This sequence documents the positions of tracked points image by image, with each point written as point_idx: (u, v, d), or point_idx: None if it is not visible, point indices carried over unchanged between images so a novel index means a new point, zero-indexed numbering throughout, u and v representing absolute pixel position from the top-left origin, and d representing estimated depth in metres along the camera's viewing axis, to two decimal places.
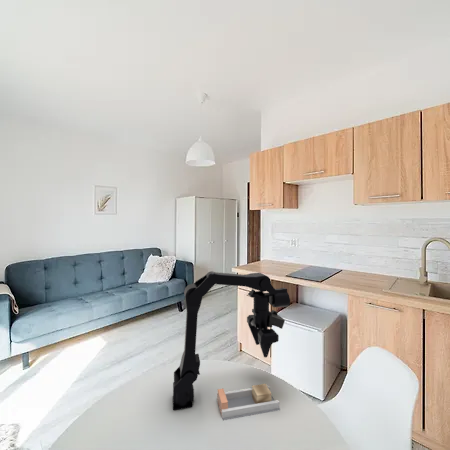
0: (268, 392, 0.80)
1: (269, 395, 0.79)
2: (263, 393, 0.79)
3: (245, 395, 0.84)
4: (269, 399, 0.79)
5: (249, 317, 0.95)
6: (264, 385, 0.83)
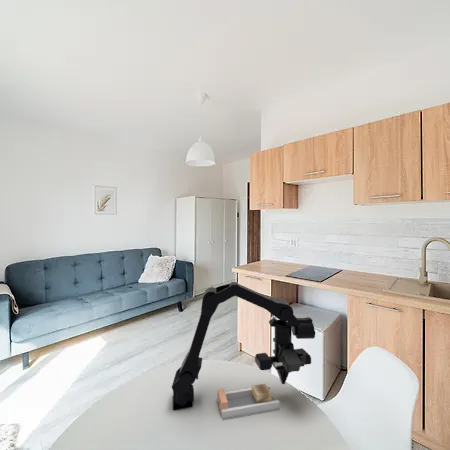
0: (268, 392, 0.80)
1: (269, 395, 0.79)
2: (263, 393, 0.79)
3: (245, 395, 0.84)
4: (269, 399, 0.79)
5: None
6: (264, 385, 0.83)
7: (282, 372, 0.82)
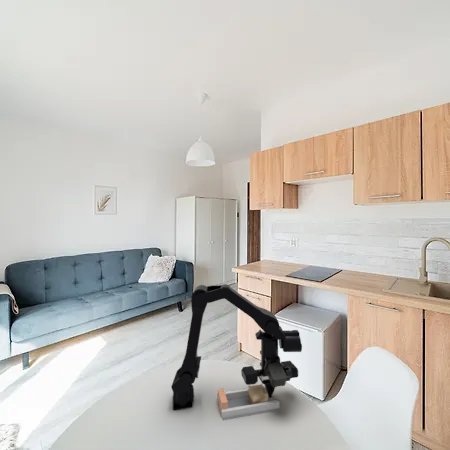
0: (264, 393, 0.79)
1: (265, 396, 0.79)
2: (259, 394, 0.79)
3: (245, 395, 0.84)
4: (265, 400, 0.79)
5: None
6: (260, 386, 0.83)
7: (269, 386, 0.81)
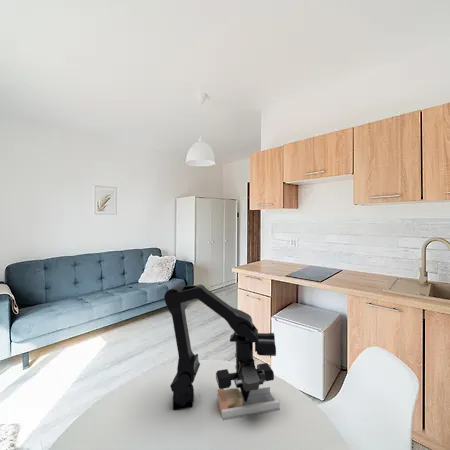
0: (239, 397, 0.78)
1: (240, 400, 0.77)
2: (234, 398, 0.77)
3: None
4: (240, 404, 0.77)
5: None
6: (236, 389, 0.81)
7: (244, 389, 0.79)
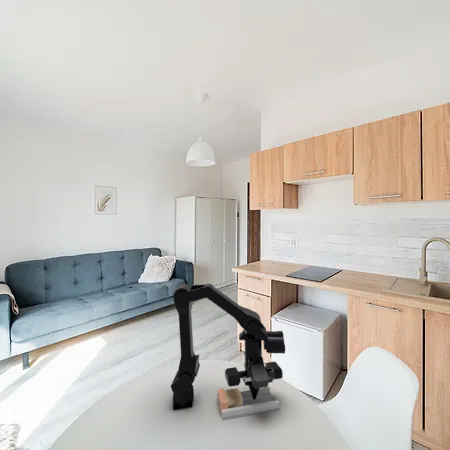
0: (239, 397, 0.77)
1: (240, 400, 0.77)
2: (234, 398, 0.77)
3: (245, 395, 0.84)
4: (240, 404, 0.77)
5: None
6: (236, 389, 0.81)
7: (252, 387, 0.79)
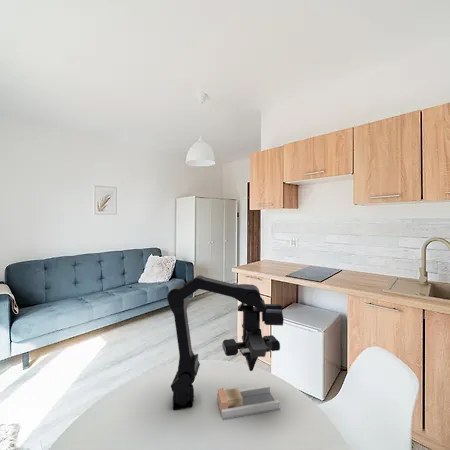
0: (239, 397, 0.77)
1: (240, 400, 0.77)
2: (234, 398, 0.77)
3: (245, 395, 0.84)
4: (240, 404, 0.77)
5: None
6: (236, 389, 0.81)
7: (249, 358, 0.79)
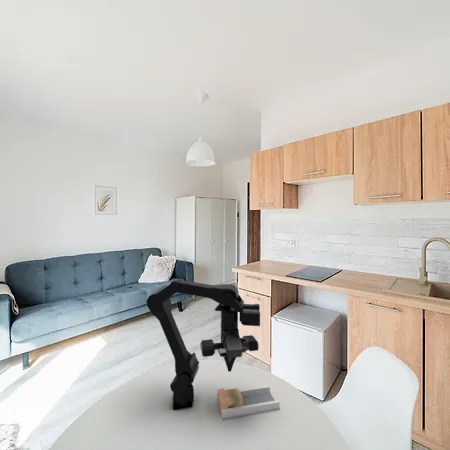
0: (239, 397, 0.77)
1: (240, 400, 0.77)
2: (234, 398, 0.77)
3: (245, 395, 0.84)
4: (240, 404, 0.77)
5: None
6: (236, 389, 0.81)
7: (227, 359, 0.79)
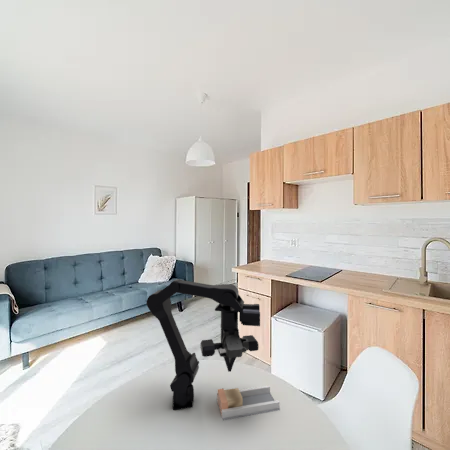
0: (239, 397, 0.77)
1: (240, 400, 0.77)
2: (234, 398, 0.77)
3: (245, 395, 0.84)
4: (240, 404, 0.77)
5: None
6: (236, 389, 0.81)
7: (227, 359, 0.79)
